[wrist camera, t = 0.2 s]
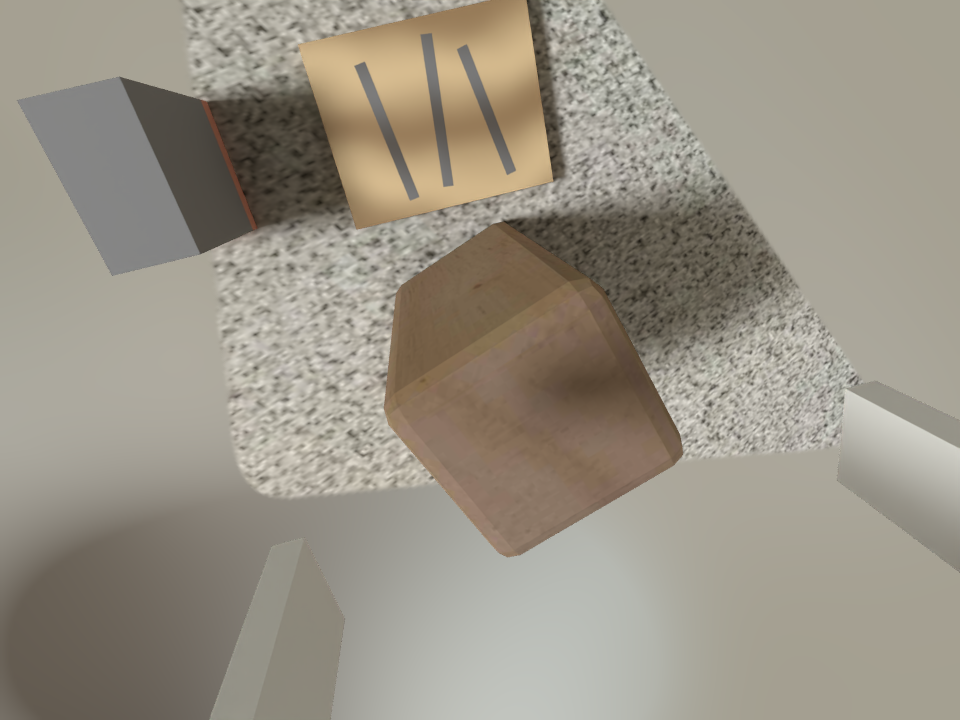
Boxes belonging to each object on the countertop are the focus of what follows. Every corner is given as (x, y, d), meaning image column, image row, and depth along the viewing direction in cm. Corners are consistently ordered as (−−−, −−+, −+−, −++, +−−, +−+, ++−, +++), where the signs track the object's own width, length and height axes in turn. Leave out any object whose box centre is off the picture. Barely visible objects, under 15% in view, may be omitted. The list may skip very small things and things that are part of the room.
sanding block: (135, 118, 30) (16, 100, 21) (206, 101, 30) (119, 76, 21) (193, 243, 33) (112, 275, 24) (257, 228, 34) (200, 254, 24)
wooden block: (502, 214, 35) (601, 272, 17) (565, 321, 39) (699, 461, 21) (391, 289, 36) (371, 419, 18) (462, 386, 40) (506, 574, 22)
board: (303, 49, 30) (297, 44, 29) (520, -1, 31) (525, -8, 29) (358, 226, 34) (356, 229, 33) (547, 180, 35) (553, 181, 34)
